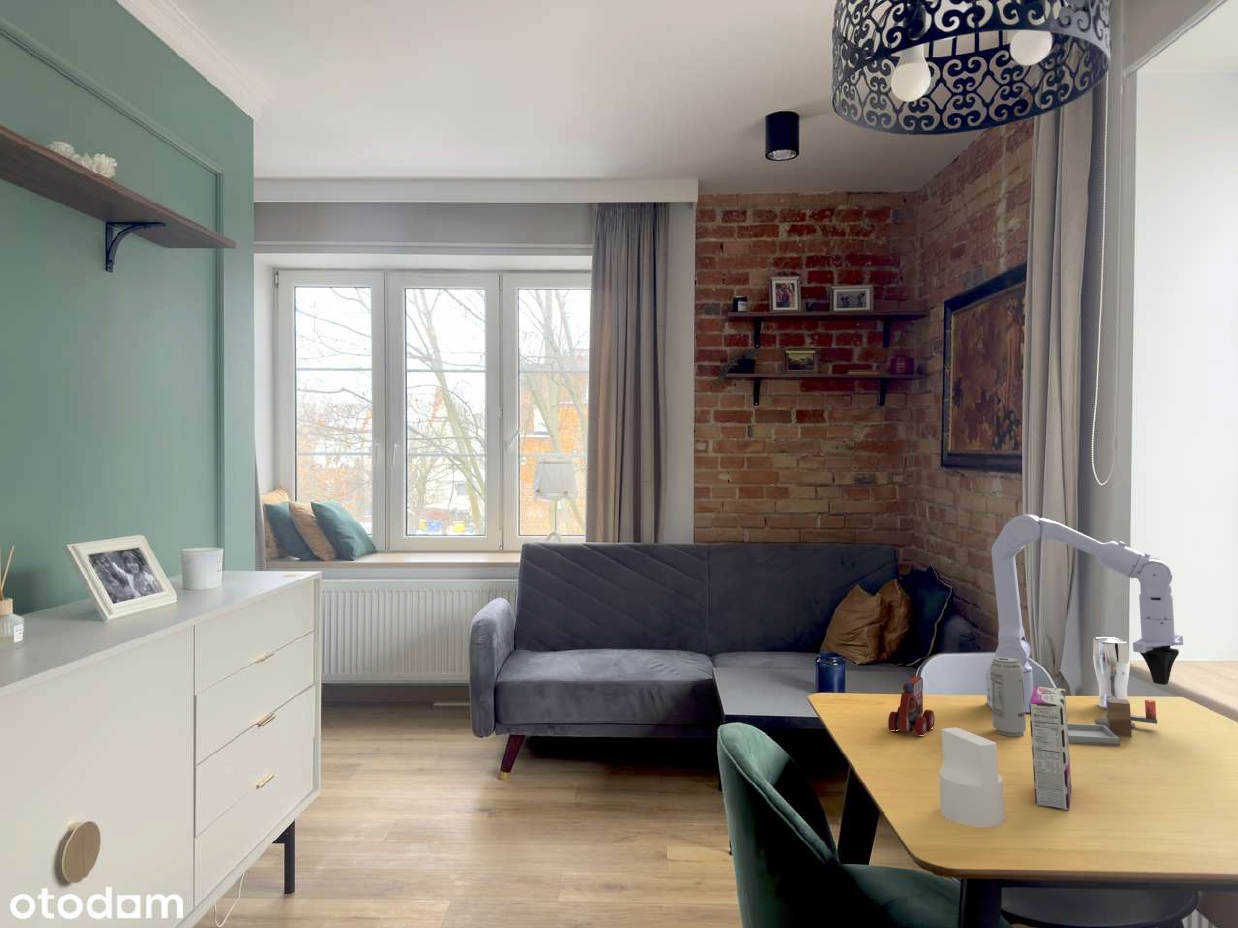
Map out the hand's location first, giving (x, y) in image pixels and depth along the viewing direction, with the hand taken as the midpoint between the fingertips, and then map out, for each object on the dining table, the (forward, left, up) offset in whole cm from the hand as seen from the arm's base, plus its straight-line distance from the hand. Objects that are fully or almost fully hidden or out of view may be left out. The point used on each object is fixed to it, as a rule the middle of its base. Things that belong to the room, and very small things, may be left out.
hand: (1160, 683), depth 160 cm
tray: (-17, -11, -9) cm, 22 cm away
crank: (-6, -2, -7) cm, 10 cm away
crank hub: (-9, -1, -9) cm, 12 cm away
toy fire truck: (-50, -13, -9) cm, 52 cm away
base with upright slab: (-45, -55, -9) cm, 71 cm away
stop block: (-10, -7, -9) cm, 15 cm away
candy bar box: (-31, -45, -9) cm, 55 cm away
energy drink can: (-31, -11, -9) cm, 34 cm away
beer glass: (-5, +13, -9) cm, 17 cm away
